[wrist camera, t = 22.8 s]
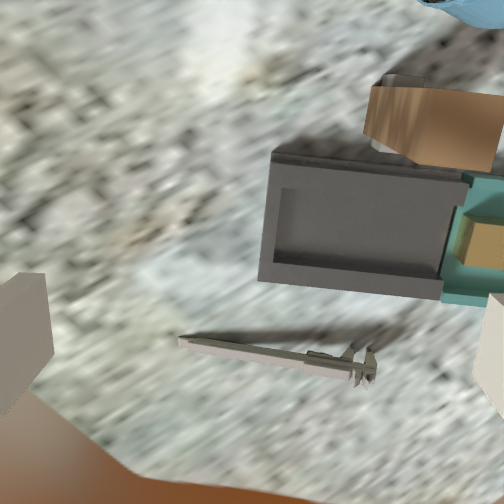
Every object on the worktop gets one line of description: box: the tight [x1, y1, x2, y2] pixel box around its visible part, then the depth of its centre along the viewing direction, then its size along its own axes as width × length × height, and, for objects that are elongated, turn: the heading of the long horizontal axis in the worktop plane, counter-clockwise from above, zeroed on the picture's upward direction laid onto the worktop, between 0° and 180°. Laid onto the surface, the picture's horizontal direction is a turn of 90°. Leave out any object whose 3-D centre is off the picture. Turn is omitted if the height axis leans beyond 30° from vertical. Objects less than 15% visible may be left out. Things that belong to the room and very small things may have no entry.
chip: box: [452, 214, 504, 270], centre depth 43 cm, size 4×4×3 cm
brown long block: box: [363, 74, 504, 172], centre depth 34 cm, size 6×4×17 cm, turn 174°
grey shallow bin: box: [258, 152, 469, 300], centre depth 44 cm, size 12×17×3 cm
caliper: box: [178, 337, 377, 390], centre depth 47 cm, size 20×1×6 cm, turn 88°
